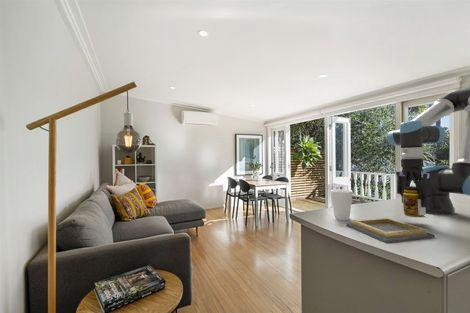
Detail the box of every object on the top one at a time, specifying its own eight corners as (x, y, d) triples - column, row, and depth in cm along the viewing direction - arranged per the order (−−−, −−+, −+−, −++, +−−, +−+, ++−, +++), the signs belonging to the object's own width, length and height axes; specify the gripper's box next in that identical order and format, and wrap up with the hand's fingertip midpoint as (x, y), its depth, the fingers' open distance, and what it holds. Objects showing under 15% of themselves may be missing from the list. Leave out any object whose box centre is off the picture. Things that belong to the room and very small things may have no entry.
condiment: (404, 216, 96) (403, 187, 96) (400, 212, 104) (399, 185, 104) (427, 218, 93) (425, 188, 93) (420, 213, 101) (419, 185, 101)
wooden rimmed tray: (387, 222, 101) (387, 216, 101) (434, 237, 81) (434, 230, 81) (346, 225, 97) (346, 219, 97) (386, 242, 78) (385, 235, 78)
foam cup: (333, 220, 106) (332, 191, 106) (329, 215, 115) (329, 189, 115) (355, 221, 103) (355, 192, 104) (350, 216, 112) (350, 189, 113)
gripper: (385, 158, 106) (387, 208, 106) (427, 158, 88) (429, 219, 88) (399, 157, 108) (401, 207, 108) (443, 157, 89) (445, 217, 89)
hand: (414, 212), depth 98 cm, fingers closed on condiment, 6 cm apart
